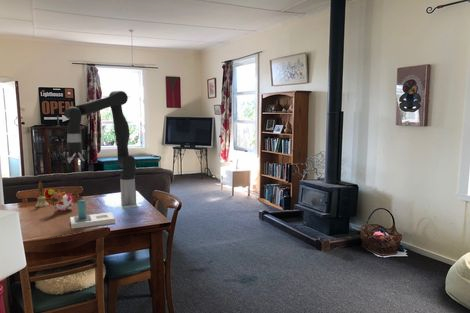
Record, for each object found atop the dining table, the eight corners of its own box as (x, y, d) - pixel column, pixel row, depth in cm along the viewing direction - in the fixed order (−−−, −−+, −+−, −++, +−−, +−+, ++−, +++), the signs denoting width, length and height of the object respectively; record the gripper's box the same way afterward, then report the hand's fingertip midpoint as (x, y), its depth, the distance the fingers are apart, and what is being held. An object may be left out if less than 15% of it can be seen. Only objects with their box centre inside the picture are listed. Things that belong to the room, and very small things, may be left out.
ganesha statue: (76, 213, 226) (54, 198, 210) (57, 216, 229) (35, 201, 213) (81, 195, 234) (61, 179, 218) (63, 198, 237) (42, 182, 221)
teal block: (86, 216, 201) (85, 199, 199) (86, 218, 197) (85, 200, 196) (78, 217, 199) (77, 200, 198) (78, 219, 195) (77, 201, 194)
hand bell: (34, 207, 234) (32, 183, 232) (35, 204, 241) (34, 181, 240) (48, 206, 237) (47, 182, 235) (49, 203, 245) (48, 180, 243)
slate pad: (89, 215, 204) (89, 215, 204) (91, 220, 195) (91, 219, 195) (74, 217, 201) (74, 216, 201) (75, 222, 192) (75, 221, 192)
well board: (111, 217, 212) (111, 212, 211) (115, 223, 199) (115, 218, 199) (70, 222, 202) (70, 217, 201) (71, 229, 189) (71, 223, 189)
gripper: (66, 142, 205) (68, 170, 207) (88, 140, 217) (90, 167, 219) (59, 141, 209) (60, 169, 211) (81, 140, 221) (82, 166, 223)
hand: (75, 168), depth 215 cm, fingers open, 8 cm apart
